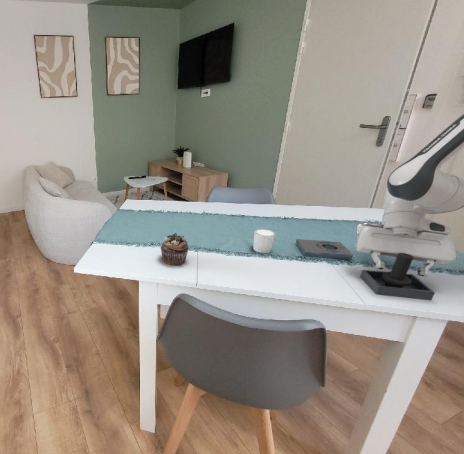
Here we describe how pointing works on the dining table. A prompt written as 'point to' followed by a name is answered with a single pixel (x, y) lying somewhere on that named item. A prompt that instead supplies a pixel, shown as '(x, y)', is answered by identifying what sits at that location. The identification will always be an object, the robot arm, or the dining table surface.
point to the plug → (399, 272)
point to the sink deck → (324, 249)
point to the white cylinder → (263, 240)
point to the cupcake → (174, 249)
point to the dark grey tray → (378, 286)
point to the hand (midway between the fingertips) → (400, 272)
